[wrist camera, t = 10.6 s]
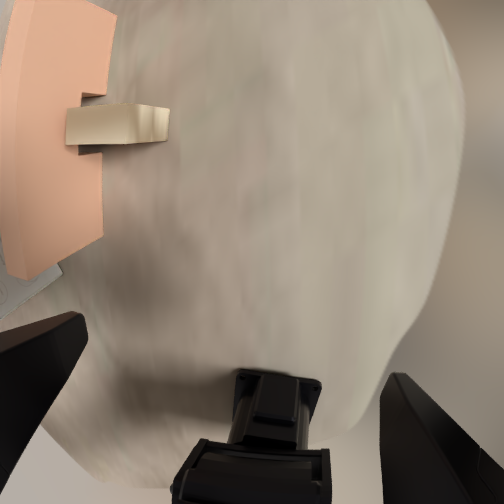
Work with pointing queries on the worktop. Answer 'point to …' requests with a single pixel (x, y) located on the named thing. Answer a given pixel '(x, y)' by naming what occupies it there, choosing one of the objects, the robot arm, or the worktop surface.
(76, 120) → the birch notched block
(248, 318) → the worktop surface
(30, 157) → the terracotta plate
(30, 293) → the small box
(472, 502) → the robot arm
